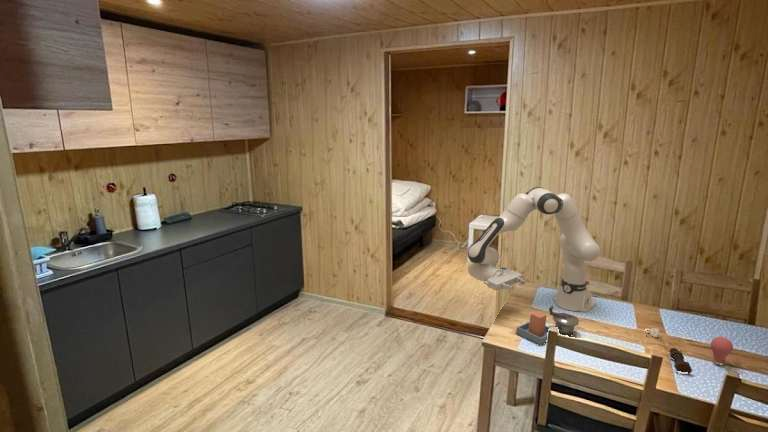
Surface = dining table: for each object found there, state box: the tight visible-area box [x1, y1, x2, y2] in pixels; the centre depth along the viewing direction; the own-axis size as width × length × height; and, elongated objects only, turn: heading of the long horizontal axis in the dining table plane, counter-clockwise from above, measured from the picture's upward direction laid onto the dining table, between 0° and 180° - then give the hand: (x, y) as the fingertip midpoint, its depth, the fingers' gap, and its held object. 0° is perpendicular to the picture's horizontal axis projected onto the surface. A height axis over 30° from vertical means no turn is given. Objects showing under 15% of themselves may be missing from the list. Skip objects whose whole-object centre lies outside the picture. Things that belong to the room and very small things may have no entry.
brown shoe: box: [669, 347, 693, 374], centre depth 170 cm, size 6×5×15 cm
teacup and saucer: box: [644, 327, 660, 338], centre depth 193 cm, size 9×8×4 cm
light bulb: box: [710, 336, 734, 363], centre depth 170 cm, size 7×7×12 cm
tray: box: [515, 320, 551, 346], centre depth 190 cm, size 13×13×4 cm
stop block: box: [528, 310, 547, 337], centre depth 189 cm, size 5×5×10 cm
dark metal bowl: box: [548, 305, 580, 337], centre depth 194 cm, size 13×11×11 cm
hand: (518, 285), depth 198 cm, fingers open, 8 cm apart
